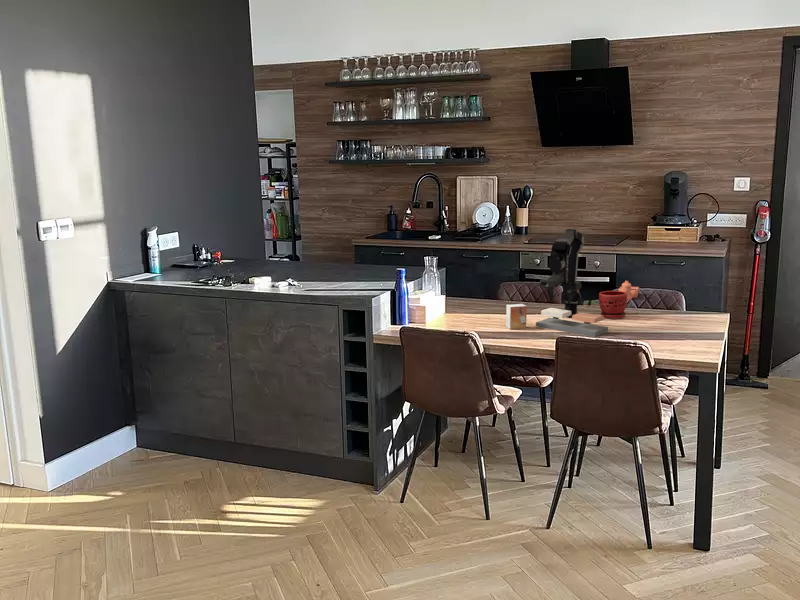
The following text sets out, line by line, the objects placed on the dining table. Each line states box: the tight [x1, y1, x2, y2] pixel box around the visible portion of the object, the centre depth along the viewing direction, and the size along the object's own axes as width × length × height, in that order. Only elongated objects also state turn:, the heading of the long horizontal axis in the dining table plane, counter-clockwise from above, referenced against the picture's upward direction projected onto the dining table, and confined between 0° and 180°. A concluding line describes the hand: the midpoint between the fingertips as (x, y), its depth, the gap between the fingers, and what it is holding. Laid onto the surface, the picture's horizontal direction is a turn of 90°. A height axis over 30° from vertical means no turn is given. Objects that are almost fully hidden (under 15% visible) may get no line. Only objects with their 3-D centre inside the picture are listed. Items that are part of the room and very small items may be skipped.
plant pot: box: [598, 290, 628, 320], centre depth 377 cm, size 13×13×12 cm
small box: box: [505, 303, 528, 330], centre depth 360 cm, size 8×6×10 cm
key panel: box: [535, 317, 609, 337], centre depth 356 cm, size 12×30×2 cm, turn 48°
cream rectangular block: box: [540, 307, 571, 319], centre depth 361 cm, size 8×11×4 cm
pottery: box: [618, 280, 640, 301], centre depth 424 cm, size 18×10×10 cm, turn 156°
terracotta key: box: [571, 311, 604, 324], centre depth 350 cm, size 8×11×4 cm
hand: (560, 302), depth 360 cm, fingers open, 9 cm apart
